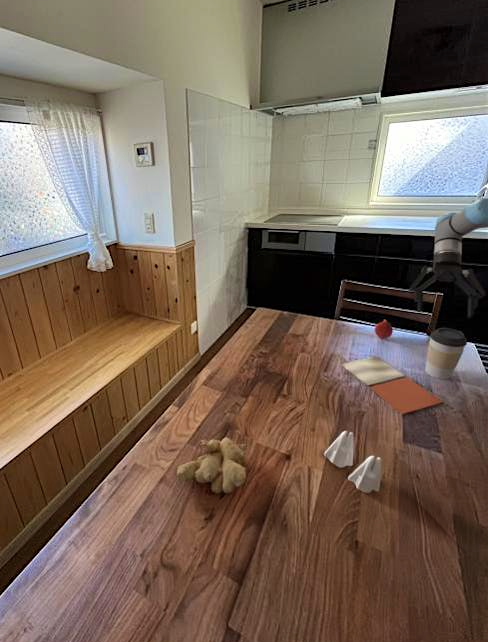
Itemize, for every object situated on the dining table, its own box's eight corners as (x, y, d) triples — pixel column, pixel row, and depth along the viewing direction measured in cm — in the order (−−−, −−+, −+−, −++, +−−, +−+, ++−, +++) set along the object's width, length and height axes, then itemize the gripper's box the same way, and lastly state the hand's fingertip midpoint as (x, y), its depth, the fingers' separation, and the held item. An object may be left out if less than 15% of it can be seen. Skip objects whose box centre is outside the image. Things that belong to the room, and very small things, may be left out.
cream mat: (404, 376, 107) (404, 375, 106) (367, 386, 104) (367, 385, 103) (375, 356, 117) (376, 355, 117) (341, 365, 114) (341, 364, 114)
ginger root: (265, 455, 81) (262, 436, 76) (237, 520, 71) (232, 503, 66) (209, 432, 89) (203, 413, 85) (177, 487, 79) (169, 470, 75)
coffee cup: (427, 380, 104) (439, 338, 98) (416, 363, 112) (427, 324, 106) (461, 383, 102) (475, 340, 96) (447, 365, 110) (460, 325, 104)
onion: (393, 339, 127) (398, 320, 123) (384, 344, 124) (388, 325, 121) (379, 333, 131) (382, 315, 128) (370, 337, 129) (373, 319, 125)
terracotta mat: (443, 402, 95) (443, 401, 95) (402, 414, 92) (403, 413, 92) (407, 378, 106) (407, 377, 106) (370, 388, 103) (370, 387, 102)
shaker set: (321, 459, 80) (327, 424, 76) (333, 452, 82) (339, 417, 78) (368, 499, 71) (377, 462, 66) (380, 489, 73) (390, 452, 68)
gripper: (488, 264, 113) (488, 323, 107) (402, 258, 123) (397, 312, 117) (499, 253, 107) (499, 315, 101) (407, 248, 117) (402, 304, 111)
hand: (444, 313), depth 109 cm, fingers open, 13 cm apart
